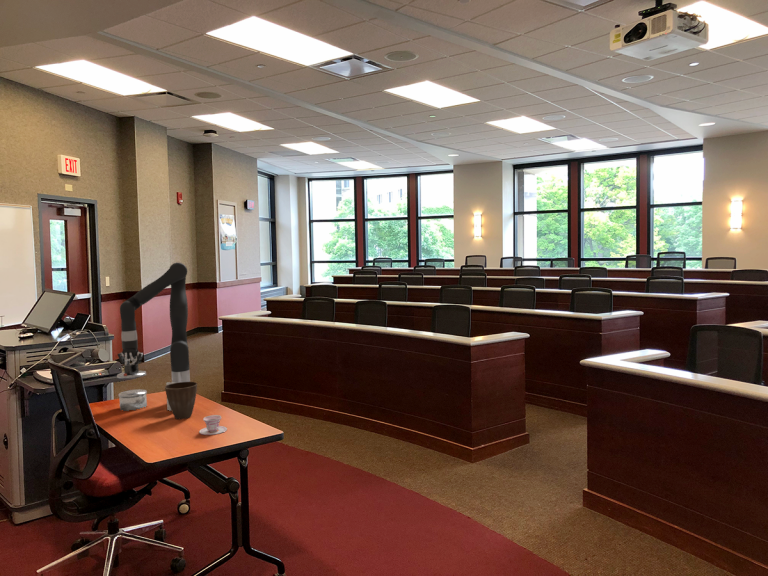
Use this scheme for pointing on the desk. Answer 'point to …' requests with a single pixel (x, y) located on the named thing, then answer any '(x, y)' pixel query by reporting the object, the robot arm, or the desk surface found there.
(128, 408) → the cooker pot
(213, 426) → the teacup
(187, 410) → the plant pot
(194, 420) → the desk surface
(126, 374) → the cooker lid
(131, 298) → the robot arm
